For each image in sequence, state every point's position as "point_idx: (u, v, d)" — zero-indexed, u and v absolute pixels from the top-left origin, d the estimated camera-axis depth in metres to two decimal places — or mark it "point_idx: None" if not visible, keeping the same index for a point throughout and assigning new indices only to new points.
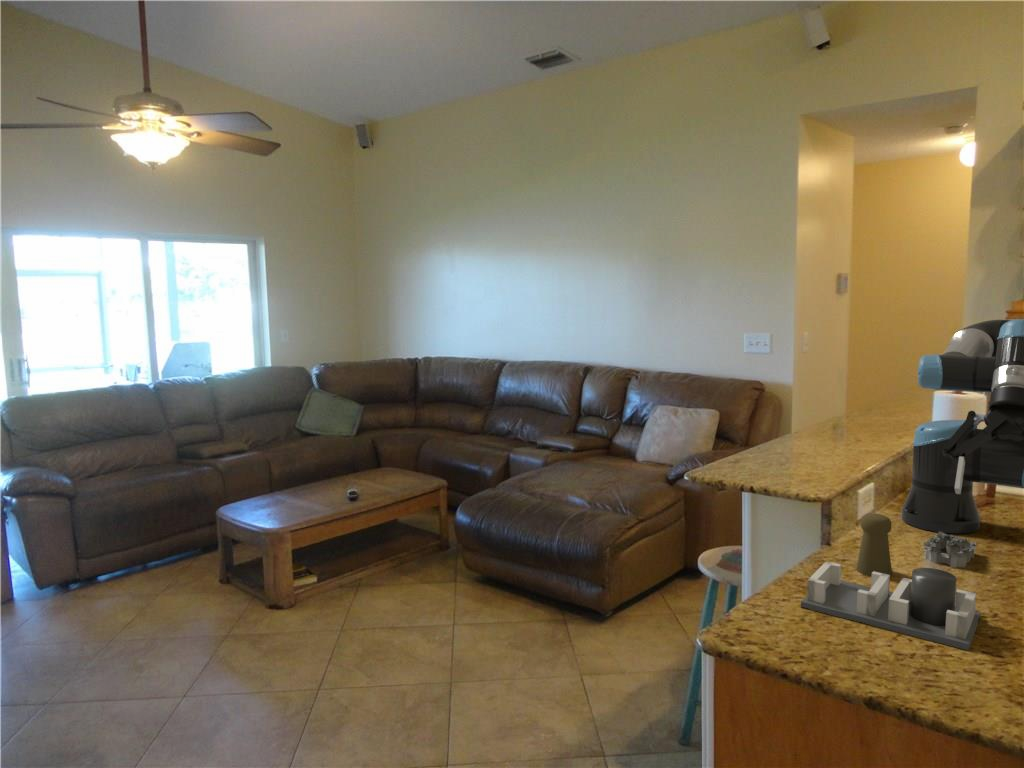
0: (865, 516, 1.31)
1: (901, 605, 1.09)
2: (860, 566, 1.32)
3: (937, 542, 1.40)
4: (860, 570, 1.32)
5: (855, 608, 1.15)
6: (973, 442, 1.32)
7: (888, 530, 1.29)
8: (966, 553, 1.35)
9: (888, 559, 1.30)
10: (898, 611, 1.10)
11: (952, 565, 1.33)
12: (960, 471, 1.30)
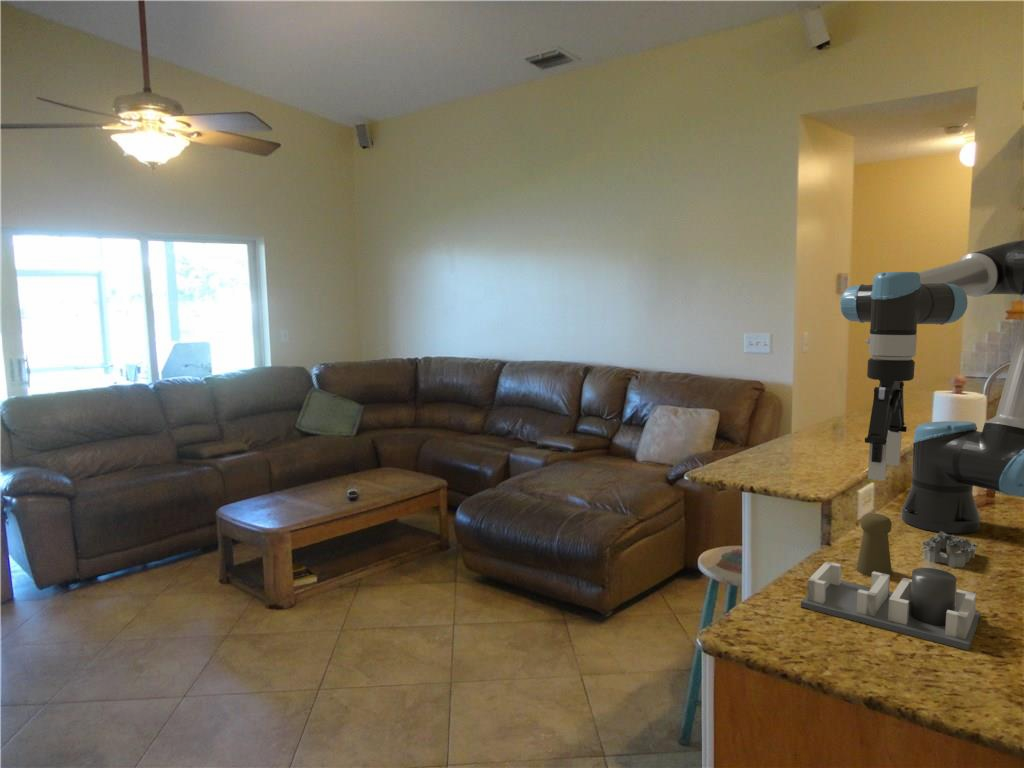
0: (865, 516, 1.31)
1: (901, 605, 1.09)
2: (860, 566, 1.32)
3: (937, 542, 1.40)
4: (860, 570, 1.32)
5: (855, 608, 1.15)
6: None
7: (888, 530, 1.29)
8: (965, 553, 1.35)
9: (888, 559, 1.30)
10: (898, 611, 1.10)
11: (950, 565, 1.34)
12: None
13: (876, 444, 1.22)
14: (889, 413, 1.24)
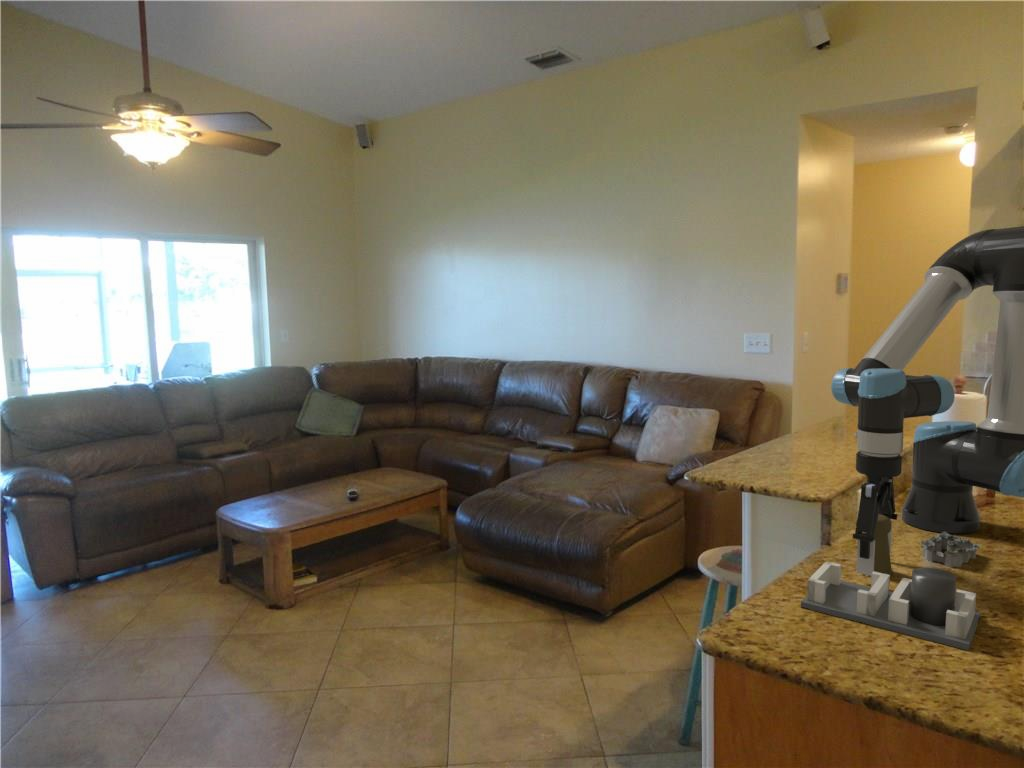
0: None
1: (901, 605, 1.09)
2: None
3: (938, 541, 1.40)
4: None
5: (855, 608, 1.15)
6: None
7: (888, 530, 1.29)
8: (964, 553, 1.35)
9: (888, 559, 1.30)
10: (898, 611, 1.10)
11: (947, 564, 1.34)
12: None
13: (863, 541, 1.25)
14: (877, 509, 1.26)
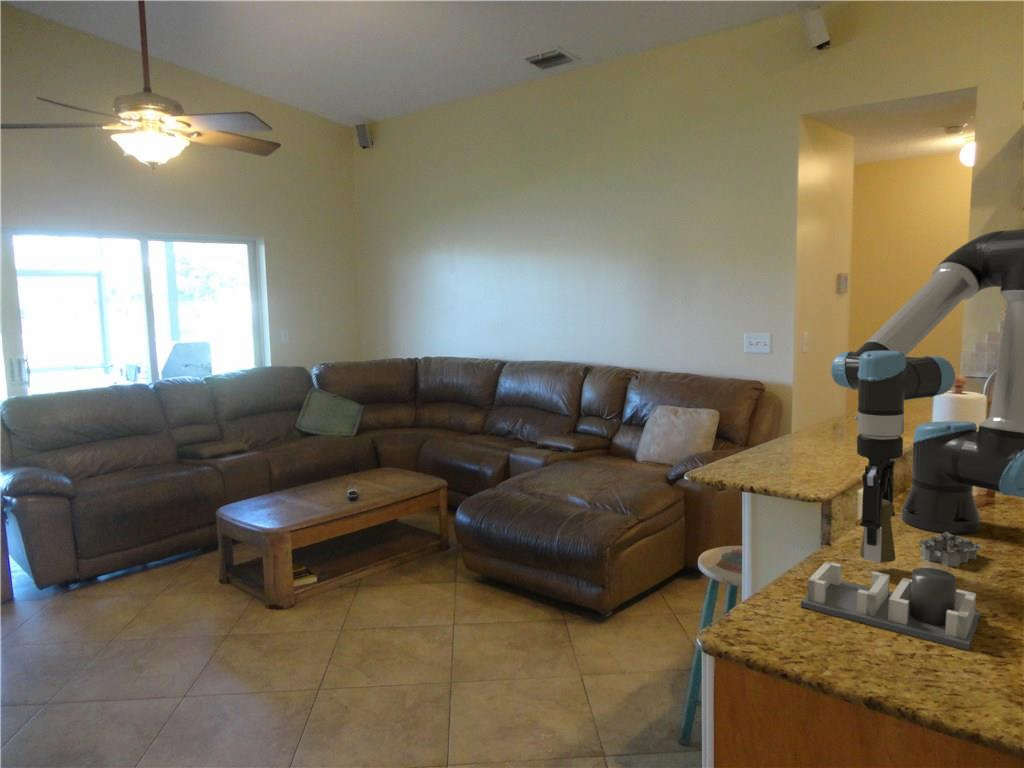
0: None
1: (901, 605, 1.09)
2: None
3: (938, 541, 1.41)
4: None
5: (855, 608, 1.15)
6: None
7: (891, 514, 1.29)
8: (963, 553, 1.35)
9: (891, 543, 1.30)
10: (898, 611, 1.10)
11: (944, 563, 1.34)
12: None
13: (870, 528, 1.27)
14: (880, 495, 1.27)
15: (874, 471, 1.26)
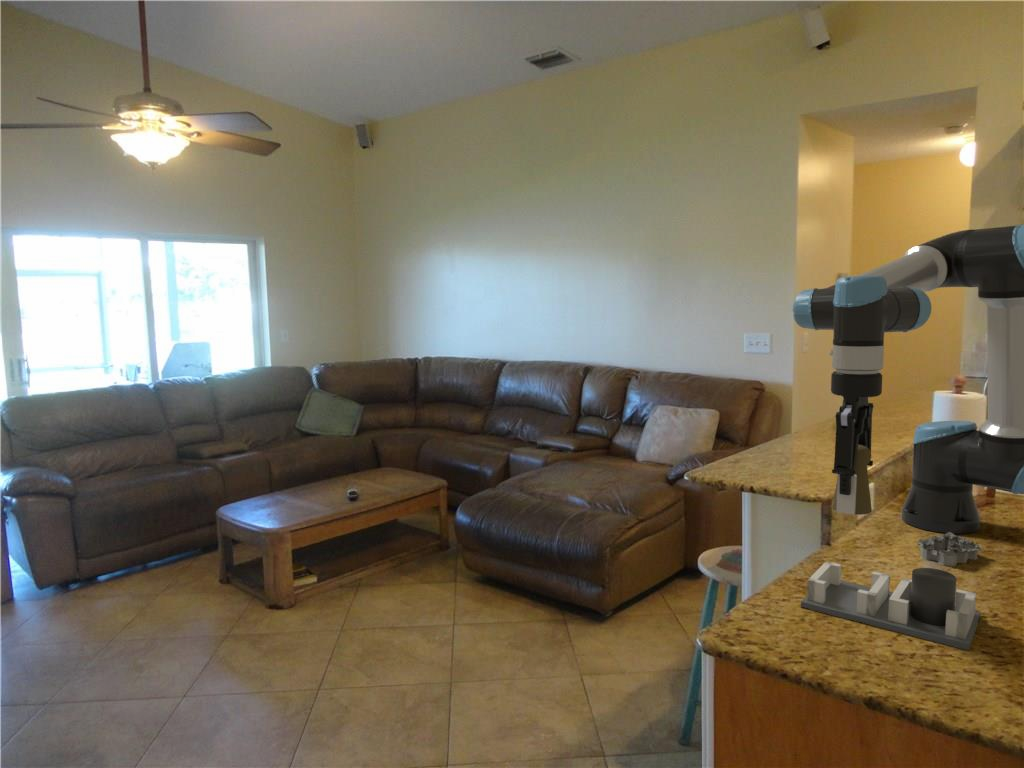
0: None
1: (901, 605, 1.09)
2: (836, 503, 1.17)
3: (939, 541, 1.41)
4: None
5: (855, 608, 1.15)
6: None
7: (867, 460, 1.14)
8: (961, 553, 1.35)
9: (867, 494, 1.15)
10: (898, 611, 1.10)
11: (940, 562, 1.35)
12: None
13: (844, 475, 1.13)
14: (855, 438, 1.13)
15: (849, 410, 1.12)
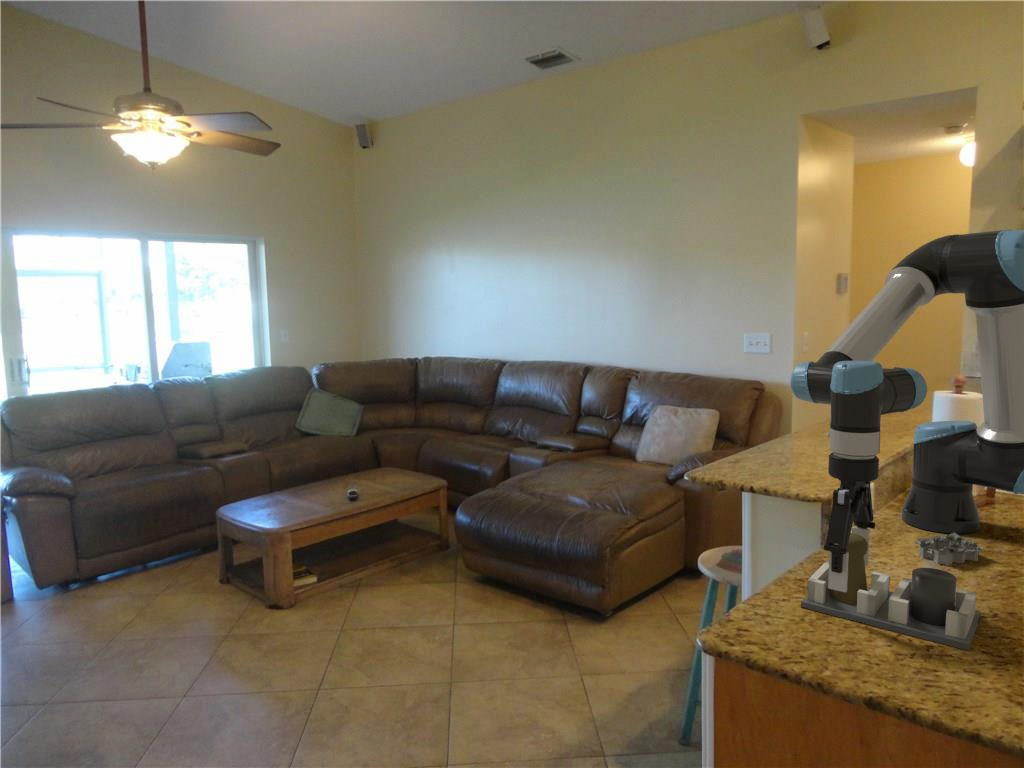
0: None
1: (901, 605, 1.09)
2: (834, 592, 1.19)
3: (940, 541, 1.41)
4: (834, 596, 1.19)
5: (855, 608, 1.15)
6: None
7: (864, 552, 1.16)
8: (958, 553, 1.35)
9: (864, 584, 1.17)
10: (898, 611, 1.10)
11: (935, 561, 1.35)
12: None
13: (835, 553, 1.12)
14: (850, 517, 1.13)
15: (846, 490, 1.13)
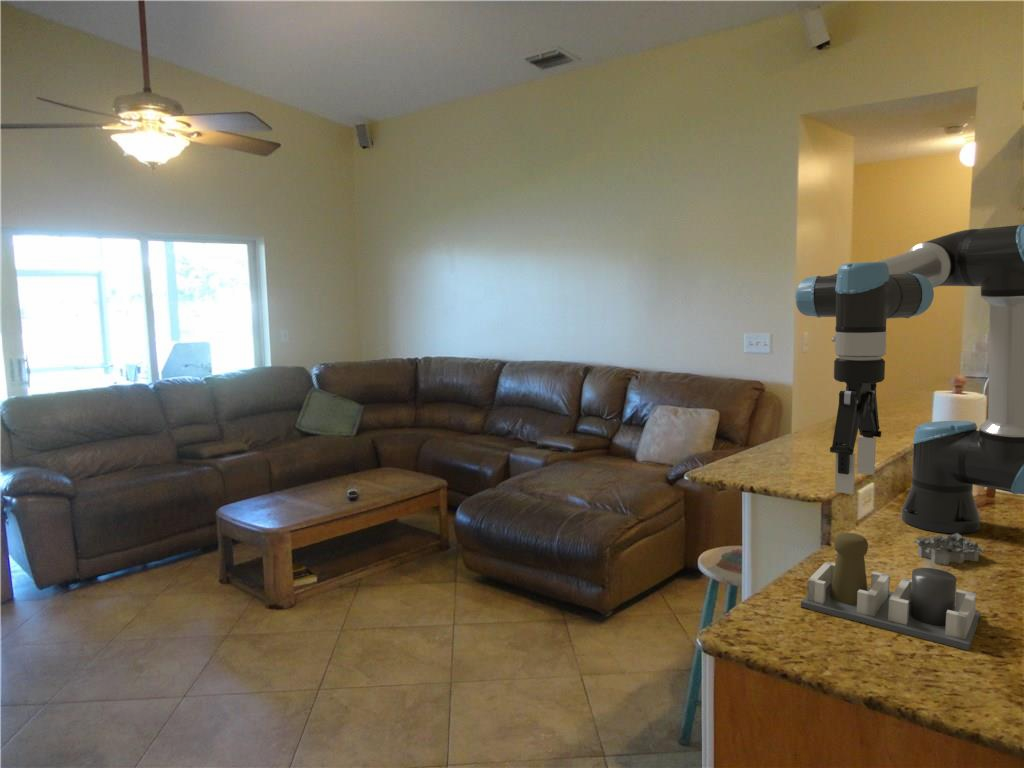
0: (839, 536, 1.18)
1: (901, 605, 1.09)
2: (834, 592, 1.19)
3: (941, 541, 1.41)
4: (834, 596, 1.19)
5: (855, 608, 1.15)
6: None
7: (864, 552, 1.16)
8: (957, 553, 1.35)
9: (864, 584, 1.17)
10: (898, 611, 1.10)
11: (932, 560, 1.36)
12: None
13: (842, 454, 1.11)
14: (857, 419, 1.12)
15: None
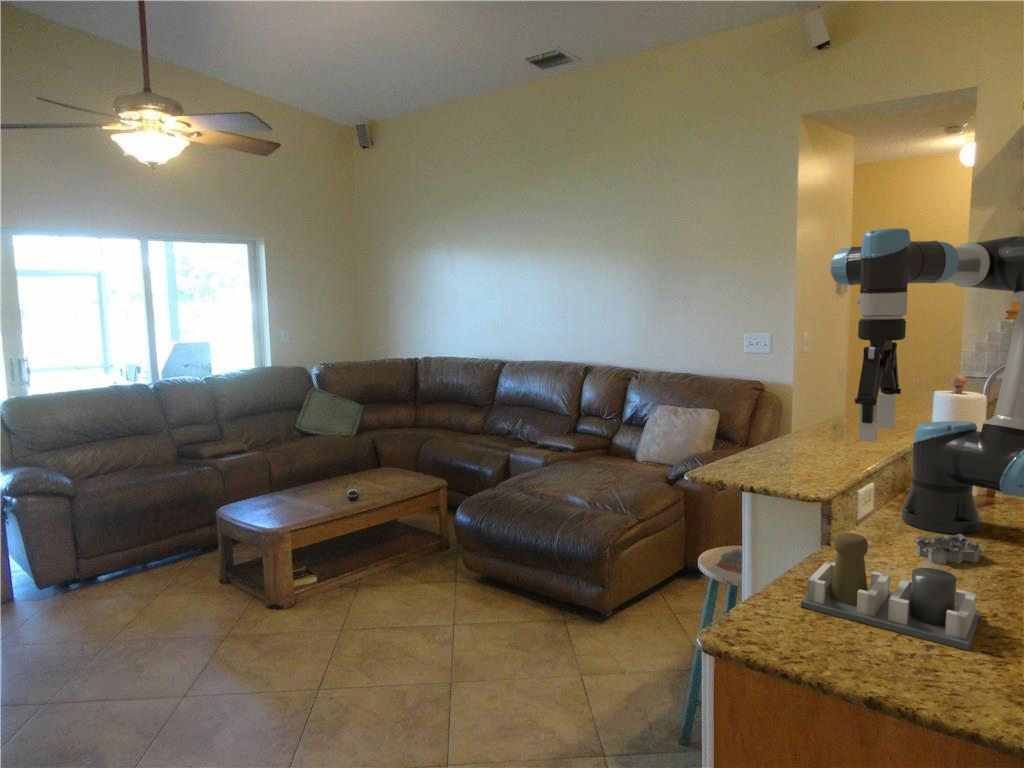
0: (839, 536, 1.18)
1: (901, 605, 1.09)
2: (834, 592, 1.19)
3: (943, 541, 1.41)
4: (834, 596, 1.19)
5: (855, 608, 1.15)
6: None
7: (864, 552, 1.16)
8: (955, 553, 1.35)
9: (864, 584, 1.17)
10: (898, 611, 1.10)
11: (929, 559, 1.36)
12: None
13: (866, 405, 1.20)
14: (880, 373, 1.22)
15: None
